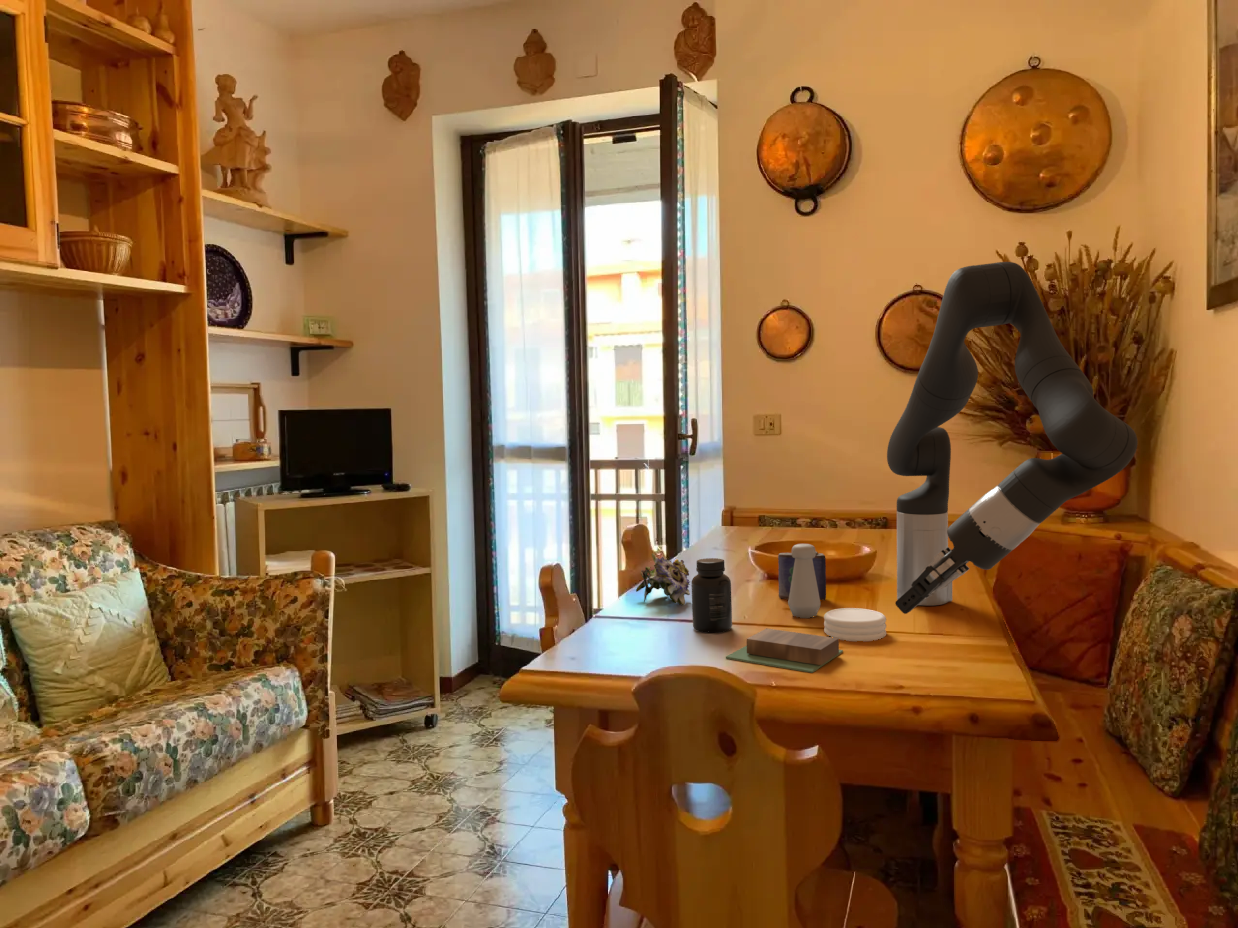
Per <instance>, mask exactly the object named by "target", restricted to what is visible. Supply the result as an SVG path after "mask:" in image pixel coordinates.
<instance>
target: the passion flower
mask: <svg viewBox="0 0 1238 928" xmlns="http://www.w3.org/2000/svg"><path fill="white" fill-rule="evenodd" d="M651 557H652V560H653V562H654V565H653V567H654V569H651V567H650V566H645V567H644V568H645V569H644V570H643V569H642V570H641V571H640V575H641V578H642V579H643V581H641V582H640V583H639V585H638V586H637V587H636V590H635V592H639V591H641V590H642V589H644V588H645V589H644V594H643V597H644V598H643V600H644V601H643V602H644V603H645V602H646V599H647V596H649V594H651V592H652V590H653V589H655V590H660V589H661V590H663V593H664V595H666V596H667V597H668V598H669V600H670V601H671V602H672V603H674V604H675V605H677V604H678V605H680V606H685V605H686V600H685V595H686V596H690V595H691V592H690V589H688V588H689V587H690V586H691V584H690V583H691V581H690V579H689V578H688V576H690V573H689V572H690V571H689V569H688V568H687V567H686V564H685V561H684V560H683V559H681V560H680V561H679V559H678V558H676V559H674V560H673V561H672V560H671V559H669V560H668V559H667V558H665V557H664V556H661V558H658V557H657V555H656V554H654V553H651ZM648 574H649V575H648ZM649 585H650V586H649ZM689 585H690V586H689Z"/></svg>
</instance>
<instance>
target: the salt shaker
mask: <svg viewBox="0 0 1238 928" xmlns="http://www.w3.org/2000/svg"><path fill="white" fill-rule="evenodd" d="M816 552H817V550H816V547H815V546H814V545H813V544H810V543H797V544H794V545H793V546H792V548H791V553H792V557H793V558H795V563H794V569H793V575H792V582H791V588H790V594H789V599H787V600H788V601H787V604H788V607H789V610H790V612H791V615H792V616H793V617H795V616H796V617H795V618H798V617H800V618H799V619H811V618H810V617H812V618H814V617H813V616H816V617H817V615H818V613H819V610H820V608H821V601H820V598H819V592H818V587H817V581H816V576H815V571H814V565H813V560H812V558H814V557H815V556H816Z"/></svg>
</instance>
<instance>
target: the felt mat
mask: <svg viewBox="0 0 1238 928" xmlns="http://www.w3.org/2000/svg"><path fill="white" fill-rule="evenodd" d="M843 652H844V650H843V649H839V653H838V654H837V655H835V656H834V657H833V658H831V659H830V660H828V661H827V662H825V663H824V664H822V665H815V664H809V663H802V662H796V661H790V660H784V659H777V658H771V657H765V656H759V655H753V654H748V653H747V645H745V646H743V647H741V648H739V649H737V650H735V651H734V652H731V653H730V654H728V655H726V656H725V659H726V660H727V659H728V660H733V661H739V662H745V663H751V664H759V665H764V666H770V667H774V668H781V669H787V670H793V671H799V672H803V673H804V672H805V673H812V674H813V673H815V672H816V671H817V670H819V669H820V668H822V667H823V666H825V665H826V664H828V663H829V662H831V661H832V660H833V659H835V658H837V657H838V656H840V654H842V653H843Z"/></svg>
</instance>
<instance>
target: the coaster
mask: <svg viewBox="0 0 1238 928" xmlns="http://www.w3.org/2000/svg"><path fill="white" fill-rule="evenodd" d="M823 619H824V622H823V625H824V629H823V632H824V634H825V633H826V634H827V635H829V636H831V637H833V638H839V639H840V640H839V641H844V640H846V641H847V642H857V641H863V642H872V641H873V640H874V641H878V639H879V640H881V638H882V639H884V638H885V637H886V635H887V631H886V629H887V624H886V622H887V617H886V615H884V614H883V613H882V612H880V611H877V610H872V609H868V608H861V607H859V608H858V607H856V608H855V607H845V608H844V607H843V608H835V609H831V610H828V611H826V612H825V614H823ZM826 634H825V635H826ZM827 635H826V636H827ZM829 636H828V637H829ZM846 641H845V642H846Z"/></svg>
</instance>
